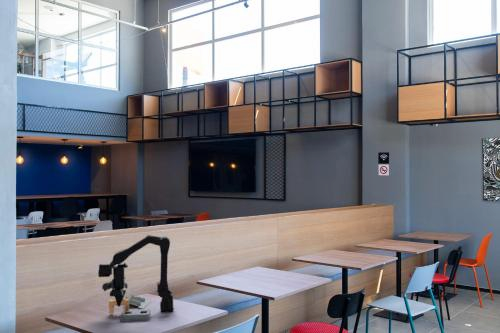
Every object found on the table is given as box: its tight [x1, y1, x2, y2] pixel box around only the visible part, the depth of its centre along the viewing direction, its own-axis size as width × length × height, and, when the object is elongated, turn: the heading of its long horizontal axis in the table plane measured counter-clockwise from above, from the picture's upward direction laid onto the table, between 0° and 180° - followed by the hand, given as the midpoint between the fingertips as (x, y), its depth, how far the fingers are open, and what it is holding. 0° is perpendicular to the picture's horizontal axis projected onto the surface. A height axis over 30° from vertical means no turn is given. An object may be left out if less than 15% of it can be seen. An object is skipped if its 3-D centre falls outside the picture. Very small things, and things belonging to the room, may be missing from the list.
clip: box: [108, 298, 130, 314], centre depth 254 cm, size 10×2×6 cm, turn 95°
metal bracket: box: [125, 294, 152, 310], centre depth 271 cm, size 14×6×15 cm
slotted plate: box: [120, 309, 152, 322], centre depth 246 cm, size 14×8×3 cm, turn 95°
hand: (119, 305), depth 254 cm, fingers closed on clip, 2 cm apart
